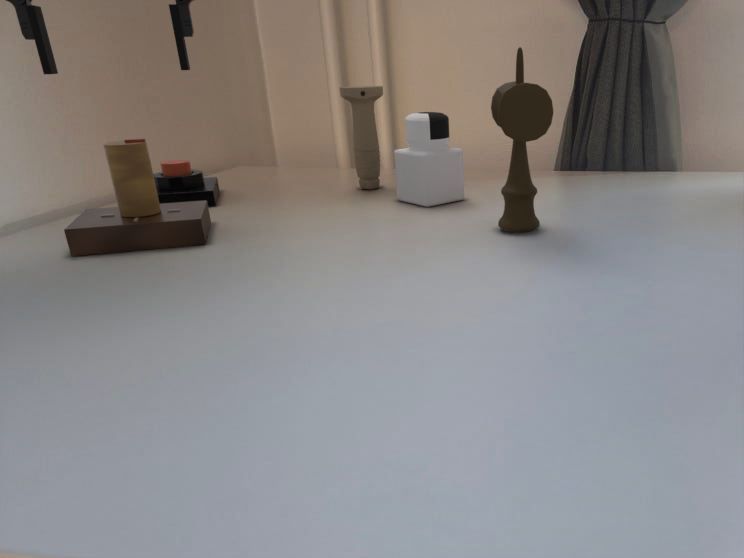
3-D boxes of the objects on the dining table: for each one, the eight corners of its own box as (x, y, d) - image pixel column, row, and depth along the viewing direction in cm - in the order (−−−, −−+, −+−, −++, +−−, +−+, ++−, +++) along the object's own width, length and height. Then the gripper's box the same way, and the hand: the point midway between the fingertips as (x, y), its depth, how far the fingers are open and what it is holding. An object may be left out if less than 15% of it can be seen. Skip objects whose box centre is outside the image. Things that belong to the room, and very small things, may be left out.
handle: (348, 186, 109) (338, 86, 103) (388, 184, 111) (380, 85, 104) (350, 192, 105) (340, 88, 99) (391, 189, 106) (384, 86, 100)
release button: (161, 179, 98) (158, 164, 97) (164, 174, 101) (161, 160, 100) (191, 177, 99) (188, 162, 98) (193, 173, 102) (190, 159, 101)
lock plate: (71, 256, 74) (63, 228, 73) (92, 233, 84) (85, 207, 83) (205, 244, 78) (200, 217, 77) (211, 223, 88) (206, 198, 86)
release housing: (140, 211, 95) (134, 182, 93) (152, 195, 106) (146, 169, 104) (215, 205, 98) (210, 177, 96) (219, 190, 108) (215, 165, 106)
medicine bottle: (434, 193, 103) (430, 109, 98) (465, 199, 98) (463, 112, 93) (396, 200, 99) (390, 113, 94) (427, 207, 94) (422, 116, 89)
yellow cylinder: (117, 218, 77) (98, 143, 74) (123, 210, 81) (106, 138, 78) (158, 215, 78) (142, 140, 75) (163, 207, 82) (148, 136, 79)
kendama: (499, 241, 77) (498, 47, 69) (489, 221, 86) (487, 47, 77) (551, 238, 77) (556, 46, 69) (536, 219, 86) (539, 46, 78)
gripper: (-102, -186, 59) (-22, 76, 68) (200, -169, 66) (237, 69, 75) (-67, -162, 66) (2, 74, 75) (204, -149, 72) (238, 67, 81)
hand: (120, 72), depth 75 cm, fingers open, 13 cm apart
